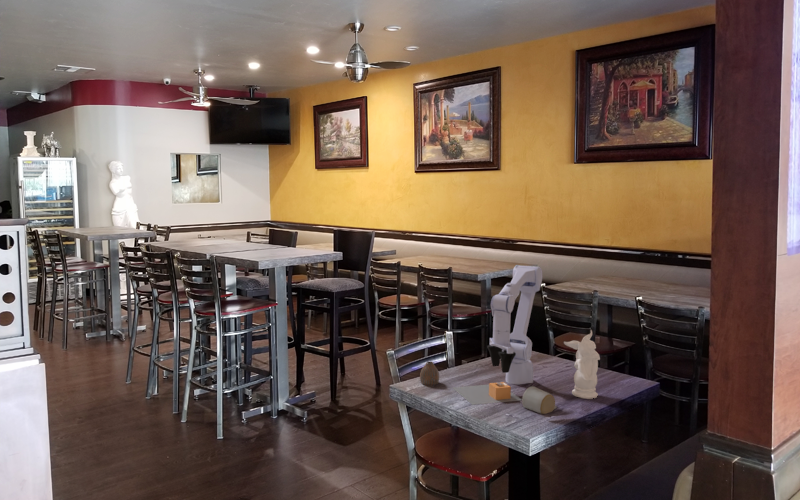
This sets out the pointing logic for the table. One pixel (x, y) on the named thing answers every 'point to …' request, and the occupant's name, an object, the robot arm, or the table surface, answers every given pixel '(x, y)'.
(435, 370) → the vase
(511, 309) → the robot arm
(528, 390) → the ceramic mug
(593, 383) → the cherub figurine
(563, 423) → the table surface
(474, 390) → the board
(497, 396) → the orange cubby crate
